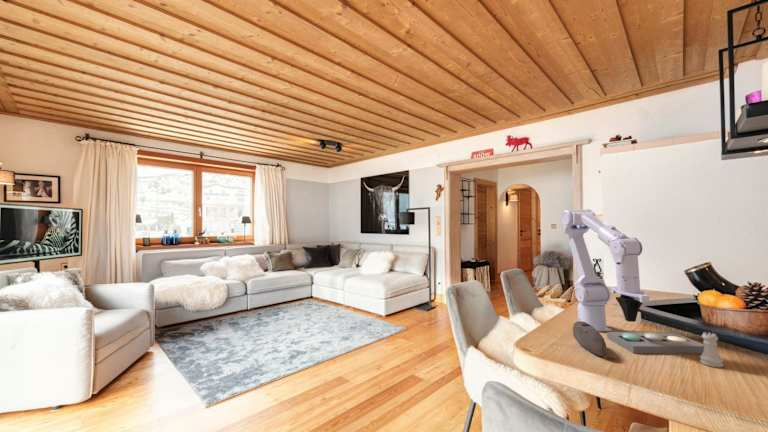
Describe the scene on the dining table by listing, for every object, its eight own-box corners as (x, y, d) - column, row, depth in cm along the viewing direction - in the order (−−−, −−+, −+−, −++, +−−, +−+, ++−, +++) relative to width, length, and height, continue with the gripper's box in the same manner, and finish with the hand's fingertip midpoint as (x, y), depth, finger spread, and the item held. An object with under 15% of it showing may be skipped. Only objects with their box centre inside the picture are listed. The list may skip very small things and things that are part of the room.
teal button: (619, 337, 102) (618, 333, 102) (634, 336, 102) (633, 333, 102) (628, 341, 98) (627, 337, 98) (643, 341, 97) (643, 337, 97)
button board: (607, 338, 106) (606, 332, 106) (672, 338, 104) (672, 331, 104) (633, 353, 93) (633, 346, 94) (708, 353, 91) (708, 346, 92)
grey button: (641, 336, 101) (640, 333, 101) (656, 336, 101) (655, 333, 101) (651, 341, 97) (651, 337, 97) (667, 341, 97) (666, 337, 97)
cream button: (663, 339, 101) (663, 336, 101) (678, 339, 100) (678, 336, 100) (674, 344, 96) (674, 340, 96) (690, 344, 96) (690, 340, 96)
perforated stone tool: (614, 360, 89) (612, 335, 89) (593, 360, 90) (592, 335, 90) (589, 342, 104) (588, 320, 104) (571, 341, 105) (570, 320, 105)
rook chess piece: (729, 368, 82) (726, 336, 82) (708, 367, 83) (706, 336, 83) (715, 361, 86) (712, 331, 87) (695, 360, 87) (693, 330, 88)
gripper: (659, 280, 93) (662, 328, 92) (626, 273, 107) (628, 314, 107) (632, 280, 94) (636, 328, 93) (603, 273, 108) (606, 314, 107)
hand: (630, 321), depth 100 cm, fingers closed
